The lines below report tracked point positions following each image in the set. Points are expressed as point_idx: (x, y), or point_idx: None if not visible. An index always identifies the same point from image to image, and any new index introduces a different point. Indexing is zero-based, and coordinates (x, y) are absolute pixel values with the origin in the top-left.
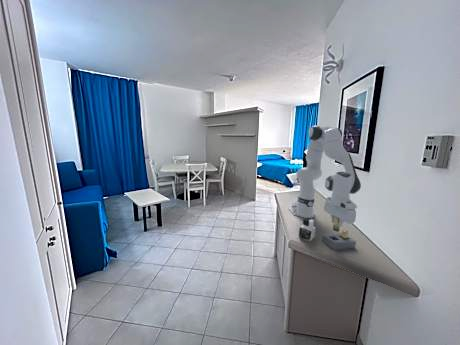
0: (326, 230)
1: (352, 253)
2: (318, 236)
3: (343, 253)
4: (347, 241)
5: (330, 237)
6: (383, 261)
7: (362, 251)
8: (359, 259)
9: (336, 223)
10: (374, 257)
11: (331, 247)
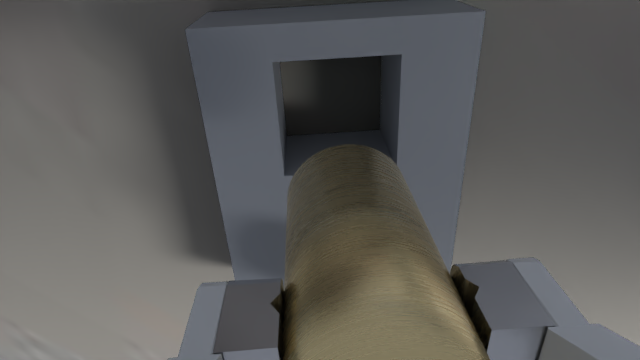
0: (637, 224)
1: (141, 180)
2: (564, 22)
3: (128, 79)
4: (241, 239)
5: (395, 97)
6: (42, 336)
7: (188, 289)
8: (26, 172)
9: (311, 291)
10: (95, 315)
11: (259, 9)
